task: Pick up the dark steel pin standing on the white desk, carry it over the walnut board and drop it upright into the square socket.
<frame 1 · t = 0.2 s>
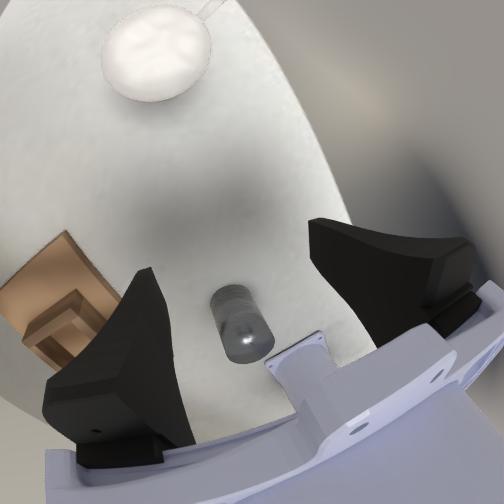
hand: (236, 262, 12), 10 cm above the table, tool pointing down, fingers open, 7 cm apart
pin: (231, 302, 26), on the table
milkshake: (161, 72, 15), on the table
socket board: (78, 327, 22), on the table
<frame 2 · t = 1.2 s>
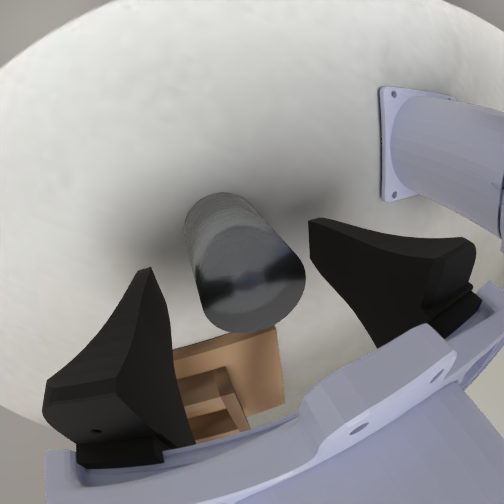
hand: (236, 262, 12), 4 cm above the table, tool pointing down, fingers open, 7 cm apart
pin: (220, 227, 15), on the table
socket board: (190, 392, 21), on the table
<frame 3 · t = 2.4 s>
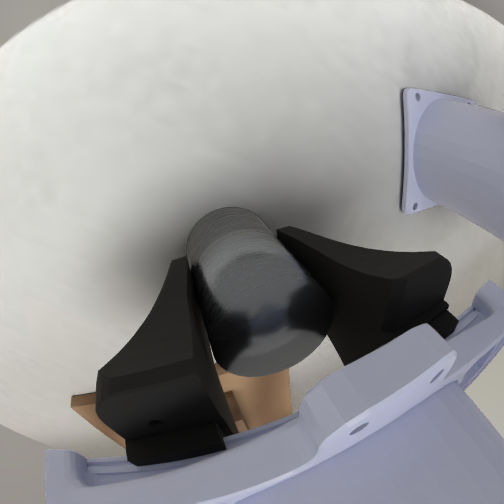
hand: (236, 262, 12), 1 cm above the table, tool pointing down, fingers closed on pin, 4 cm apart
pin: (228, 247, 13), on the table, touching gripper
socket board: (194, 414, 19), on the table
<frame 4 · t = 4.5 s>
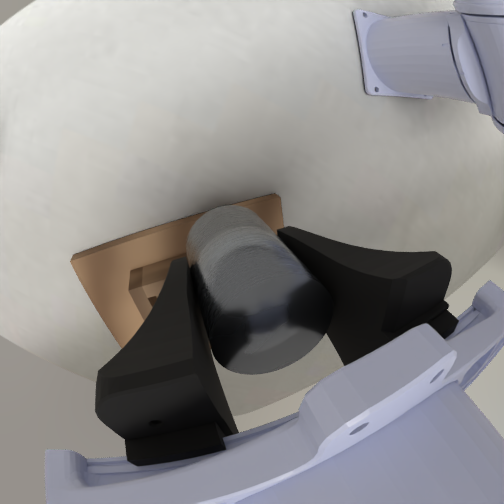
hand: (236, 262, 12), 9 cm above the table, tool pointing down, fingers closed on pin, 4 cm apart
pin: (228, 245, 13), point 7 cm above the table, touching gripper
socket board: (191, 288, 22), on the table
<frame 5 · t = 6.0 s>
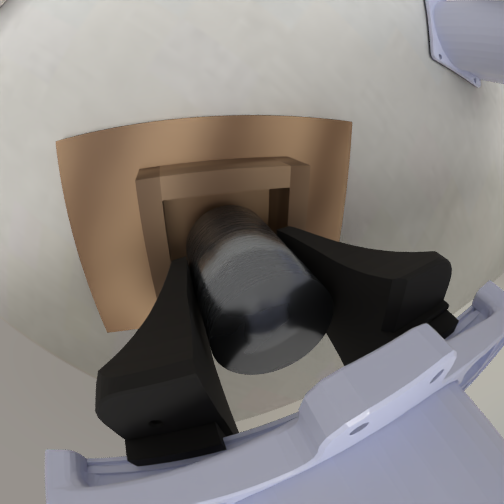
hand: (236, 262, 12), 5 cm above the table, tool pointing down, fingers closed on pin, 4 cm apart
pin: (227, 245, 13), point 3 cm above the table, touching gripper
socket board: (215, 222, 16), on the table
when the fingers open (4 cm above the table, at t = 6.9 s): pin drops 2 cm, resting on socket board.
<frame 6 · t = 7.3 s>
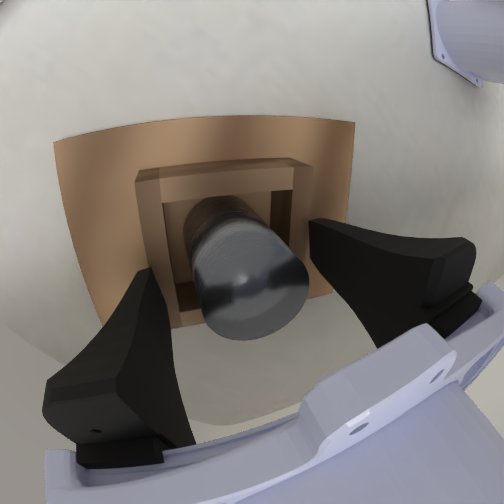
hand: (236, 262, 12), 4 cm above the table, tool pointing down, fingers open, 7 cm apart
pin: (220, 230, 15), point 1 cm above the table, touching socket board
socket board: (216, 225, 15), on the table
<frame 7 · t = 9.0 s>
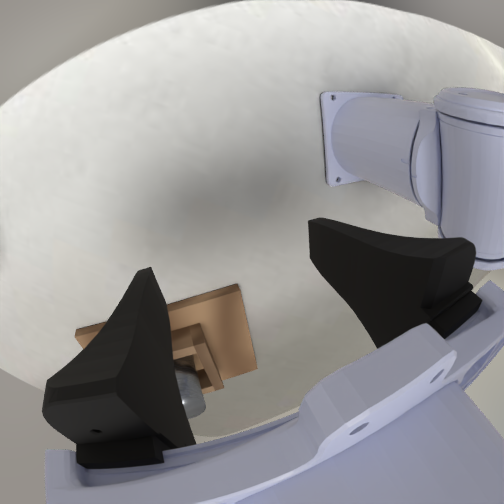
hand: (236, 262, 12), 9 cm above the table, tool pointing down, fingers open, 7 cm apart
pin: (173, 358, 25), point 1 cm above the table, touching socket board
socket board: (172, 351, 26), on the table
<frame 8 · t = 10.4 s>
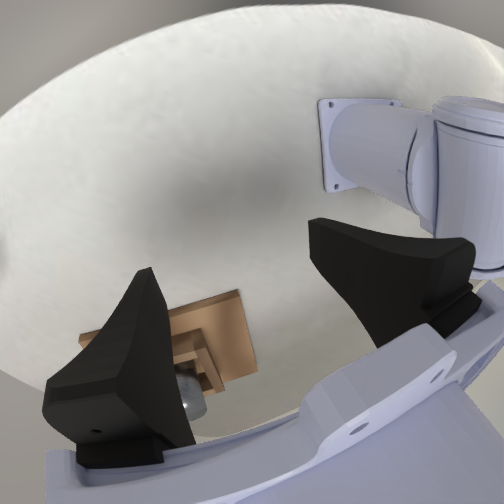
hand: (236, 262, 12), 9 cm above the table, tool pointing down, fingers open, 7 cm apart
pin: (175, 362, 25), point 1 cm above the table, touching socket board
socket board: (174, 355, 26), on the table
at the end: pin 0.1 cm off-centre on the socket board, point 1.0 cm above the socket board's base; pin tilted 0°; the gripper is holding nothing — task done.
